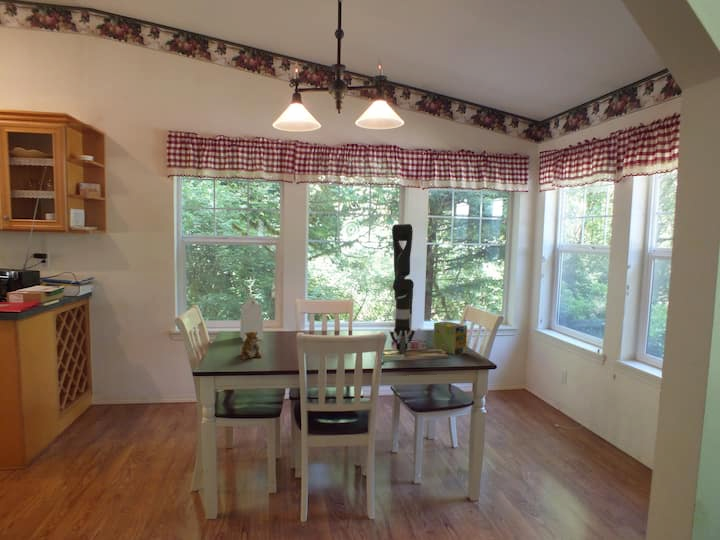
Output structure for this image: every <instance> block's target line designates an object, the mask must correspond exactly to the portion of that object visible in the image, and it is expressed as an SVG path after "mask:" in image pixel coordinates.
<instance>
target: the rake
mask: <svg viewBox="0 0 720 540" xmlns="http://www.w3.org/2000/svg"><path fill="white" fill-rule="evenodd" d="M399 343H400V350H398V351H399V352H400V355H401V354H404V355H405V345H406V339H405V336H401V339H400V342H399Z"/></svg>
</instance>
